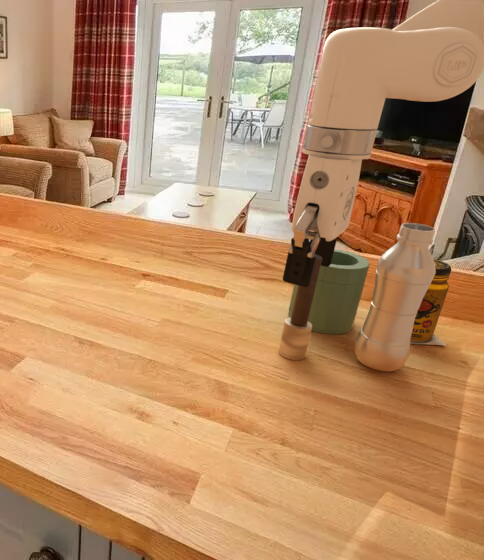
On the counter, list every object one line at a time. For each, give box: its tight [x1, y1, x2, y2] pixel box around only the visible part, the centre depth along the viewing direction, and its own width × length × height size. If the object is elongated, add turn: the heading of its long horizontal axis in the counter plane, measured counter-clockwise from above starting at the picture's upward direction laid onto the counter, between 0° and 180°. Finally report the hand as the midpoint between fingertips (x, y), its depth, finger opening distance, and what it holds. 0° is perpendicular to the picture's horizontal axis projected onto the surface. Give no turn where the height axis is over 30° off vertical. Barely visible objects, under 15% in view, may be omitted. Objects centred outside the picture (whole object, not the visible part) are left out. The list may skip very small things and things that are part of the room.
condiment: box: [410, 258, 452, 346], centre depth 75 cm, size 7×8×12 cm
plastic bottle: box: [353, 222, 436, 372], centre depth 65 cm, size 6×7×20 cm
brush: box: [278, 254, 322, 361], centre depth 68 cm, size 4×4×15 cm
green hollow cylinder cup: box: [287, 248, 371, 335], centre depth 79 cm, size 10×10×11 cm
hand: (307, 273), depth 66 cm, fingers open, 9 cm apart
